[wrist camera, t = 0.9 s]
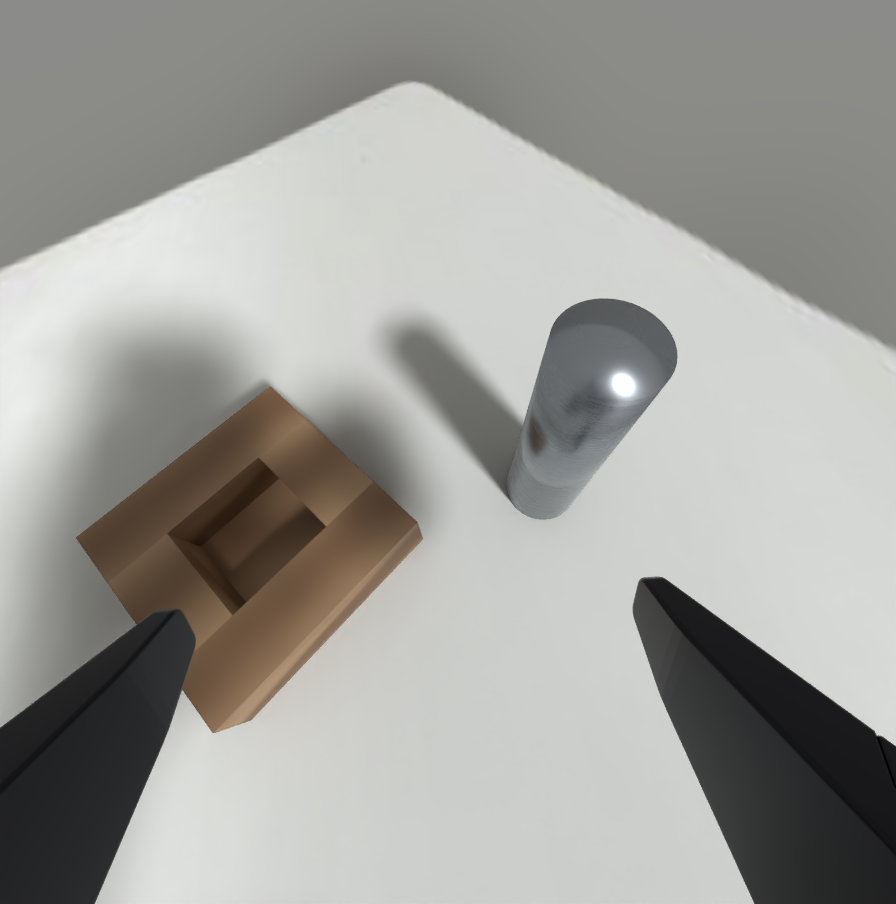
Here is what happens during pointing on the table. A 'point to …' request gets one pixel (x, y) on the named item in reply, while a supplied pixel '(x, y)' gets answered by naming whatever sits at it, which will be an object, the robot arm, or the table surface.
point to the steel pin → (586, 399)
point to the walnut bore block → (252, 552)
